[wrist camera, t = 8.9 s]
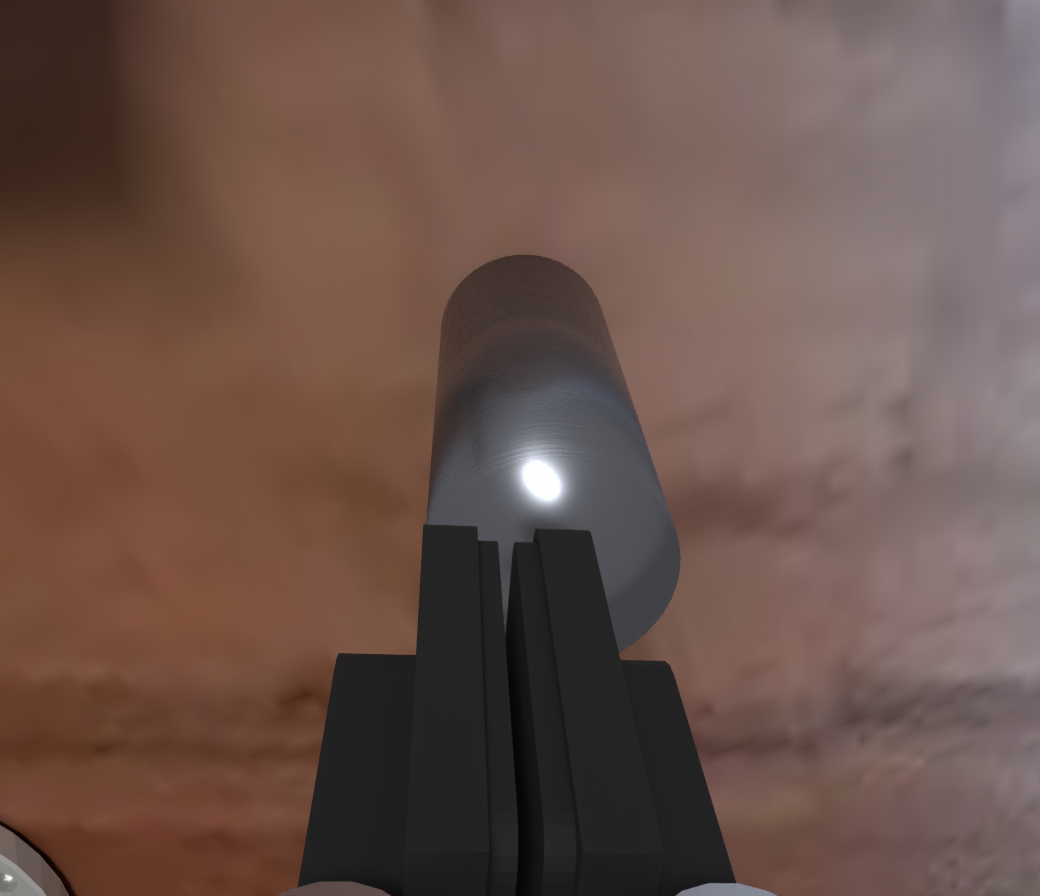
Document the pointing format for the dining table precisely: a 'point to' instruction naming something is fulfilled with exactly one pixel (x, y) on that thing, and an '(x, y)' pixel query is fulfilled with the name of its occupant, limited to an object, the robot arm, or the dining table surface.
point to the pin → (548, 434)
